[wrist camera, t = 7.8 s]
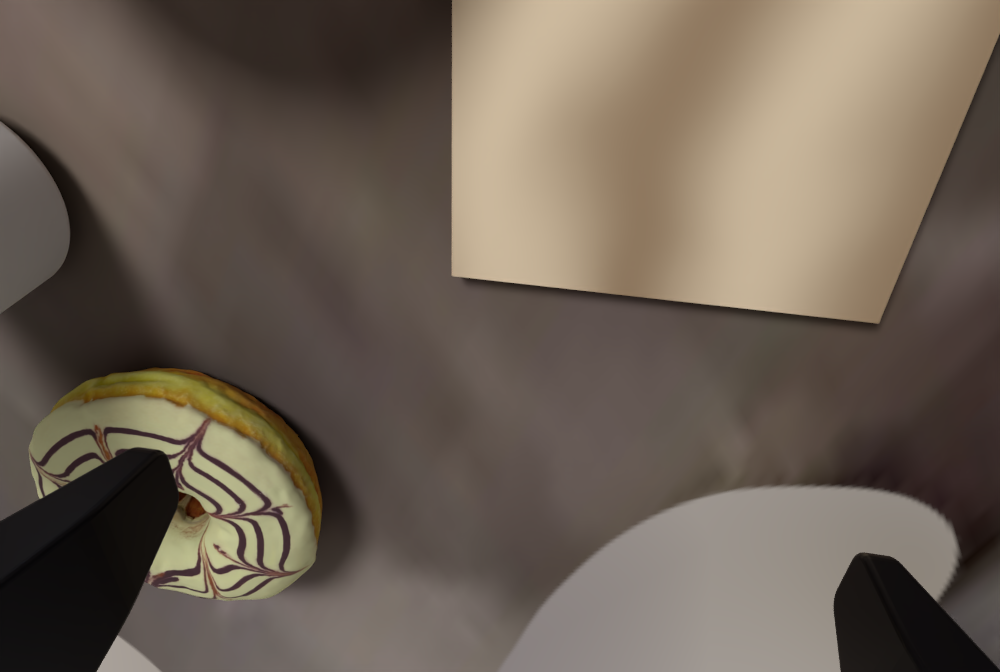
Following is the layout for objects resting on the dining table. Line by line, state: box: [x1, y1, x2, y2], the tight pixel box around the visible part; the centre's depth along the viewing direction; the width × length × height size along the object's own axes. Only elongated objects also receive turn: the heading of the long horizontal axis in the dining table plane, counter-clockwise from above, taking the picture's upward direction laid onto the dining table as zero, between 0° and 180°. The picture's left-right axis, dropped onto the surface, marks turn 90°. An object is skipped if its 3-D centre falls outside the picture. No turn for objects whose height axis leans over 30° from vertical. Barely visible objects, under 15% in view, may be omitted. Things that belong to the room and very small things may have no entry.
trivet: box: [452, 0, 1000, 324], centre depth 17 cm, size 12×12×1 cm
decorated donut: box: [29, 367, 322, 601], centre depth 26 cm, size 10×11×4 cm
